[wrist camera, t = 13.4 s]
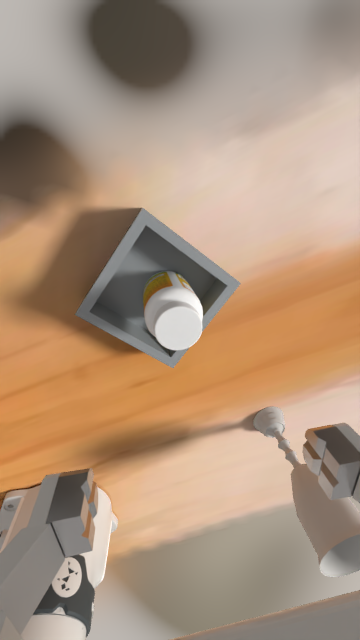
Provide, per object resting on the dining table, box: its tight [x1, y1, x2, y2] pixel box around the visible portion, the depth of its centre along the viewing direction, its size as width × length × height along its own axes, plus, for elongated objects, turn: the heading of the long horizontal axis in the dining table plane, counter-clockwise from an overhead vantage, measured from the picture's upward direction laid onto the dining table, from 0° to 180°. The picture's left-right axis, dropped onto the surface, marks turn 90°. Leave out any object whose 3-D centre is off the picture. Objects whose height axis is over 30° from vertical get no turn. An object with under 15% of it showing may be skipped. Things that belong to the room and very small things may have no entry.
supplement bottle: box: [143, 271, 203, 350], centre depth 26 cm, size 5×5×10 cm
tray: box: [75, 208, 241, 368], centre depth 29 cm, size 12×12×4 cm
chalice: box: [253, 407, 360, 577], centre depth 34 cm, size 7×7×18 cm
